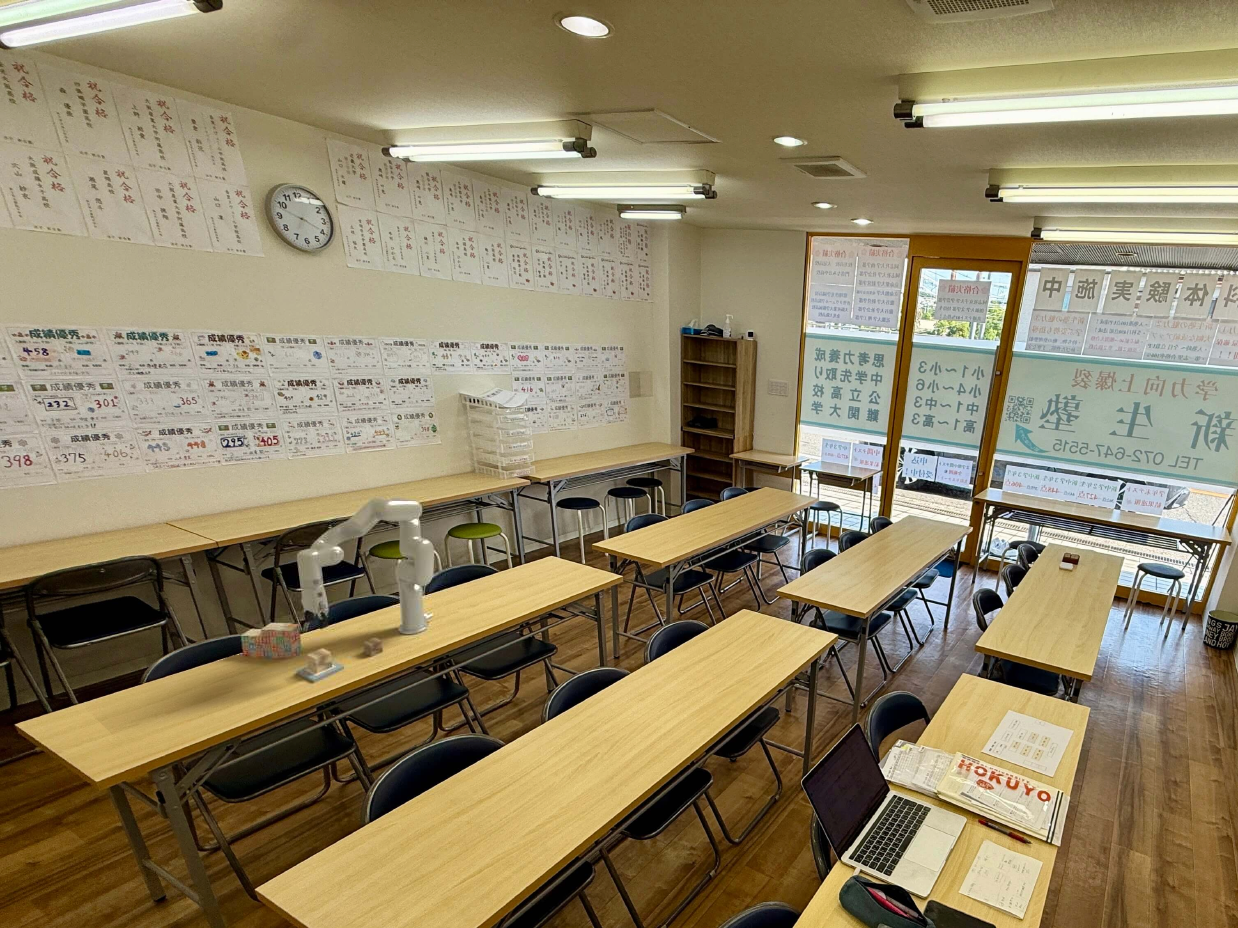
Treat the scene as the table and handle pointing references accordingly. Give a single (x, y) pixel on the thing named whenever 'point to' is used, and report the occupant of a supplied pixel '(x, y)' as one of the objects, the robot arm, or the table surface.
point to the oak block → (319, 660)
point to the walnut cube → (373, 647)
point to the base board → (316, 677)
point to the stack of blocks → (272, 641)
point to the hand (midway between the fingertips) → (316, 624)
